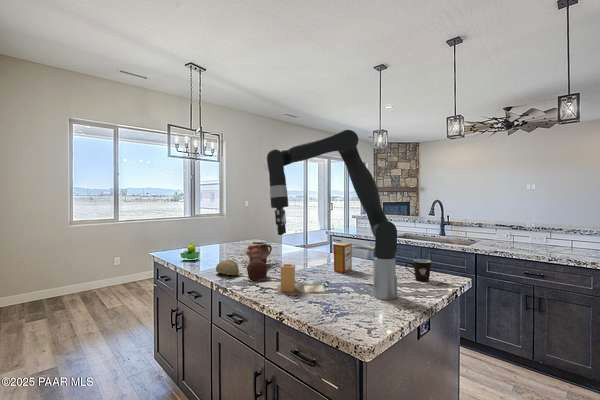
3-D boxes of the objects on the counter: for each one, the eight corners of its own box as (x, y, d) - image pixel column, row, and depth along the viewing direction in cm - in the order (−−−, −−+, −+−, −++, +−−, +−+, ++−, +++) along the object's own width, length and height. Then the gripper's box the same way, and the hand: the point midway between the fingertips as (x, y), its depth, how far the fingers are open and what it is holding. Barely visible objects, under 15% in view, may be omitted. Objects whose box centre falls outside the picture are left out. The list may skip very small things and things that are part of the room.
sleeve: (283, 287, 142) (282, 263, 142) (295, 287, 142) (294, 264, 141) (280, 291, 137) (280, 266, 137) (293, 291, 136) (292, 267, 136)
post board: (323, 287, 147) (323, 265, 147) (327, 297, 133) (326, 273, 133) (277, 288, 146) (277, 266, 146) (276, 298, 132) (276, 274, 132)
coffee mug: (433, 279, 157) (433, 260, 157) (427, 283, 151) (427, 263, 151) (411, 275, 165) (411, 257, 165) (404, 279, 159) (404, 260, 159)
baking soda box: (341, 268, 183) (341, 241, 183) (351, 269, 180) (351, 242, 179) (334, 271, 176) (333, 244, 175) (344, 273, 172) (344, 245, 171)
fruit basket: (179, 261, 207) (179, 244, 207) (186, 258, 216) (186, 242, 215) (195, 261, 205) (194, 244, 205) (201, 258, 214) (201, 242, 214)
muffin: (242, 280, 161) (241, 261, 160) (258, 275, 169) (258, 257, 168) (256, 284, 152) (256, 264, 152) (273, 279, 161) (272, 260, 160)
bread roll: (223, 271, 180) (223, 257, 180) (243, 274, 172) (243, 260, 172) (211, 274, 171) (211, 260, 171) (231, 278, 164) (231, 263, 164)
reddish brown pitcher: (264, 260, 207) (264, 239, 207) (277, 262, 199) (277, 241, 199) (241, 265, 192) (241, 243, 191) (254, 268, 184) (254, 245, 184)
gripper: (285, 194, 124) (289, 234, 123) (289, 196, 138) (292, 232, 137) (267, 196, 124) (270, 236, 124) (273, 198, 139) (276, 233, 138)
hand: (282, 234), depth 131 cm, fingers open, 8 cm apart
